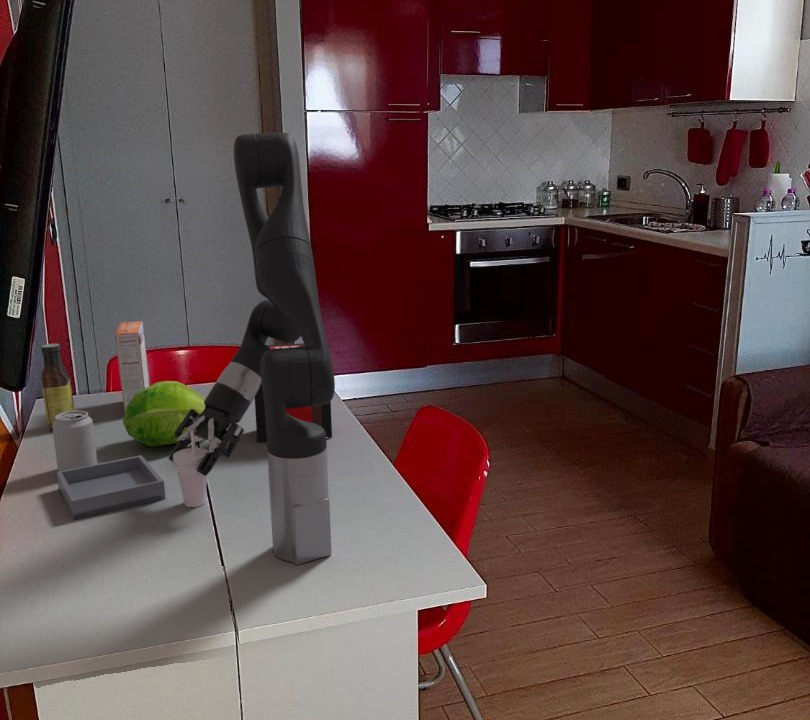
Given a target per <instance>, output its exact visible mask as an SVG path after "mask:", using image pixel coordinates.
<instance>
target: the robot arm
mask: <svg viewBox="0 0 810 720" xmlns="http://www.w3.org/2000/svg"><path fill="white" fill-rule="evenodd" d="M233 143H234V144H233V159H234V170H235V175H236V182H237V188H238V192H239V195H240V201H241V202H240V203H241V206H242V210H243V215H244V220H245V224H246V227H247V231H248V237H249V240H250V246H251V251H252V258H253V259H252V260H253V267H254V278H255V285H256V289H257V291H258V293H259V294H260V295H262V296H263V297H265V298H266V299H265V300H263V301H260V302H259V303H258V304H257V305H256V306H255V307H254V308H253V309H252V311H251V313H250V316H249V319H248V322H247V326H246V329H245V331H244V336H243V339H242V342H241V345H240V346H239V347H238V349H237V351H236V353H235V354H234V355H233V357H232V359H231V361H229V364H228V365H227V366H226V367H225V368H224V370H223V371H222V372H221V374H220V375H219V377H218V378H217V380H216V382H215V383H214V385H213V386H212V388H211V390H210V391H209V393H208V394H207V396H206V398H205V400H204V404H205V409H204V411H203V412H202V413H198V412H197V411H195V410H194V409H191V410H190V411H189V412H188V414H187V415H186V417H185V418H184V420H183V421H182V422H181V424H180V425H179V427H178V428H177V430H176V431H175V433H174V435H175V436H176V437H177V438H178V443H176V444H175V446H174V448H173V449H172V451H171V452H170V453H169V457H168V460H169V461H170V462H172V463H173V464H175V465H176V463H174V462H173V455H174V453H176V452H177V451H180V450H183V449H187V448H190V446H192V442H191V438H190V439H188V437H189V436H191V430H194V440H195V443H196V442H199V443H200V442H201V441H202V440H204V441H208V442H209V445H208V446H209V447H208V448H209V449H208V451H209V453H208V452H207V453H206V455H205V456H204V458H203V459H202V461H201V463H200V464H199V466H198V468H197V471H198V472H199V473H201V474H202V475H204V476H206V475H207V476H208V475H209V474H210V472H211V471H212V469H213V467H214V466H215V465H216V463H217V462H218V460H219V459H221V458H223V457H224V458H226V459H227V458H230V457H231V455H232V454H233V453H234V449H235V448H236V446H237V444H238V443H239V441H240V439H241V437H242V435H243V433H244V432H245V430H244V428H243V427H242V426H241V425H240V424H239V423H240V422H241V420H242V419H243V417H244V415H245V414H246V412H247V411H248V409H249V407H250V406H251V404H252V402H253V401H254V400H255V396H256V394H257V392H258V390H259V388H260V386H261V383H262V390H263V398H264V406H265V417H266V433H267V442H266V453H267V467H268V469H267V470H268V472H267V473H268V485H269V486H268V487H269V503H270V504H269V506H270V522H271V523H270V524H271V537H272V552H273V554H274V555H275V557H276V558H279V560H282V561H287V562H291V563H293V564H295V565H297V566H298V565H301V564H304V563H307V562H310V561H314V560H318V559H321V558H325V557H329V556H331V555H332V532H331V510H330V509H331V508H330V497H329V495H330V493H329V476H328V475H329V473H328V470H329V469H328V447H327V445H328V443H327V438H326V433H325V430H324V429H323V428H322V427H321V426H319V425H317V424H314V423H311V422H307V421H303V420H300V419H297V418H294V417H292V416H291V415H289V414H287V413H286V409H287V408H297V407H308V406H318V405H324V404H327V403H329V402H330V401H331V402H332V400H333V398H334V395H335V388H336V387H335V386H336V382H335V381H336V380H335V373H334V372H335V371H334V368H333V367H334V366H333V362H332V358H331V357H332V356H331V352H330V348H329V344H328V341H327V340H328V339H327V335H326V331H325V326H324V322H323V318H322V312H321V308H320V302H319V301H320V300H319V295H318V285H317V277H316V269H315V268H316V267H315V262H314V256H313V249H312V243H311V239H310V234H309V229H308V223H307V220H306V219H307V218H306V214H305V206H304V205H305V204H304V199H303V187H302V177H301V175H302V174H301V166H300V156H299V150H298V146H297V143H296V140H295V138H294V137H293V135H291V134H290V133H289V132H283V131H282V132H279V131H278V132H261V133H247V134H240V135H237V137H236V138H235V140H234V142H233ZM277 187H278V188H279V187H282V189H281V191H280V196H279V199H278V202H277V203H276V205H275V208H274V209H273V211H272V212H271V214H270V216H268V214H267V213H266V211H265V210H264V208H263V206H262V204H261V202H260V198H259V196H258V192H257V189H266V188H277ZM269 338H271V339H273V340H276V341H280V342H283V343H286V344H292V343H294V342H296V341H298V340H299V339H300V338H301V339H302V342H303V343H304V344H305V347H290V348H277V349H270V348H269V347H267V346H266V342H267V340H268V339H269ZM185 427H186V428H187V430H186V432H184V433H182V431H183V430H184V428H185ZM195 430H196V432H195ZM227 445H228V446H227Z"/></svg>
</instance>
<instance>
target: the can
mask: <svg viewBox="0 0 810 720" xmlns="http://www.w3.org/2000/svg"><path fill="white" fill-rule="evenodd" d="M55 419H56V420H55V421H54V423H53V424H52V428H53V430H52V434H53V443H54V450H55V458H56V467H57V470H58V471H57V472H59V471H64V470H69V469H74V468H79V467H84V466H89V465H94V464H98V458H97V457H98V456H97V449H96V448H97V447H96V439H95V431H94V423H93V422H94V421H93V419H92V418H91V417H90V416H89V413H88V412H87V411H85V410H75V411H68V412H63V413H60V414H58V415H56V416H55Z"/></svg>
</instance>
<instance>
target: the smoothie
mask: <svg viewBox="0 0 810 720" xmlns="http://www.w3.org/2000/svg"><path fill="white" fill-rule="evenodd" d="M191 442H192V445H191V447H188V448H187V449H183V450H180V451H177V452H176V453H174V455H173V462H174V463H173V462H172V463H173V464H175V463H176V464H175V468H176V472H177V476H178V481H179V486H180V490H181V495H182V498H183V499H182V500H183V503H184V506H185V507H186V506H187V508H190V507H195V508H199V507H198V506H200V507H202V506H204V505H205V504H206V500H207V499H206V498H207V480H208V479H207V478H208V474H207V475H206V476H204V475H202V474H201V473H199V472H198V471H197V468H198V466H199V464H200V463H201V461H202V459H203V458H204V456H205V455H206V453H207V452H208V453H210V452H209V449H206V448H202V447H196V442H195V440H194V430H191ZM203 504H204V505H203ZM201 505H202V506H201Z"/></svg>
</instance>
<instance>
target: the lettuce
mask: <svg viewBox="0 0 810 720" xmlns="http://www.w3.org/2000/svg"><path fill="white" fill-rule="evenodd" d="M205 399H206V398H205V397H203V395H201V394H200V393H199V392H197V391H196V390H194V389H193V388H191V387H190V386H188V385H185V384H184V383H181V382H179V381H176V380H175V381H174V380H165V381H164V380H163V381H157V382H155V383H153V384H151V385H150V386H149V387H147V388H145V389H143V390H141V391H139V392H137V393H136V394H135V396H134V397H133V398H132V400H131V401H130V402H129V404H128V405H127V407H126V411H125V413H124V417H123V420H122V424H123V426H124V428H125V430H126V432H127V435H128V436H129V437H131V438H133V439H135V441H138V442H140V443H142V444H144V445H146V446H148V447H152V448H153V447H159V446H167V445H174V444H175V445H176V444H177V443H178V438H177V437H176V436H175V435H174V433H175V431H176V430H177V428H178V427H179V425H180V424H181V422H182V421H183V420H184V418H185V417H186V415H187V414H188V412H189V411H190V410H191V409H194V410H195V411H197V412H198V413H202V412H203V411H204V409H205V404H204V400H205ZM186 430H187V428H186V427H185V428H184V430H183V431H182V433H184V432H186ZM195 432H196V430H195ZM190 438H191V436H189V437H188V439H190Z"/></svg>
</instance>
